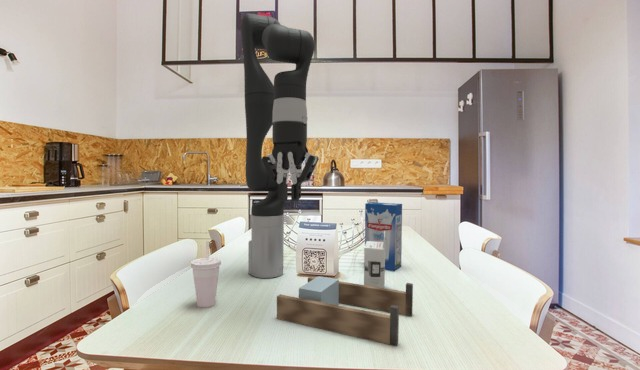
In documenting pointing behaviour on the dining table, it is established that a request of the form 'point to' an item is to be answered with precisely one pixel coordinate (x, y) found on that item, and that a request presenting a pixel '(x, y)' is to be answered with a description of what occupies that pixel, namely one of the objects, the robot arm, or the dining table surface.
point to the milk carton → (389, 221)
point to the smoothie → (206, 278)
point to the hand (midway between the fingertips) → (289, 200)
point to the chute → (352, 311)
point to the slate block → (321, 290)
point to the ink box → (374, 263)
